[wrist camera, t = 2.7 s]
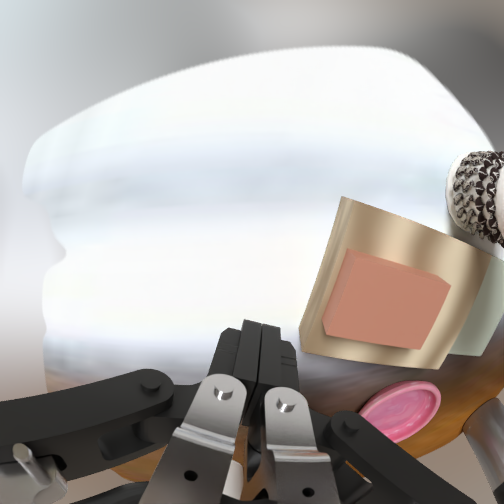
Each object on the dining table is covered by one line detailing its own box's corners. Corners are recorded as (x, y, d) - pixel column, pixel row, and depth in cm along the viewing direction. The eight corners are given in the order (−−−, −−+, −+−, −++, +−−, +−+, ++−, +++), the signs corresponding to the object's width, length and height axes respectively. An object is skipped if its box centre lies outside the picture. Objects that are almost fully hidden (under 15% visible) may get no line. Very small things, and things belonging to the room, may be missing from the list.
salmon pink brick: (437, 275, 19) (451, 285, 17) (409, 335, 21) (420, 349, 19) (347, 248, 19) (356, 257, 17) (321, 318, 21) (326, 334, 19)
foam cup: (218, 479, 36) (207, 535, 24) (184, 457, 35) (165, 518, 22) (263, 472, 34) (257, 535, 22) (230, 448, 33) (216, 520, 20)
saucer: (382, 439, 31) (386, 454, 28) (330, 417, 30) (333, 435, 26) (445, 388, 28) (454, 402, 25) (404, 355, 26) (414, 371, 23)
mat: (519, 269, 22) (520, 269, 22) (479, 355, 26) (480, 356, 25) (469, 244, 22) (471, 245, 22) (424, 349, 26) (425, 350, 25)
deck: (469, 244, 22) (492, 255, 18) (424, 349, 26) (438, 369, 22) (341, 196, 22) (354, 200, 18) (298, 327, 26) (301, 351, 22)
